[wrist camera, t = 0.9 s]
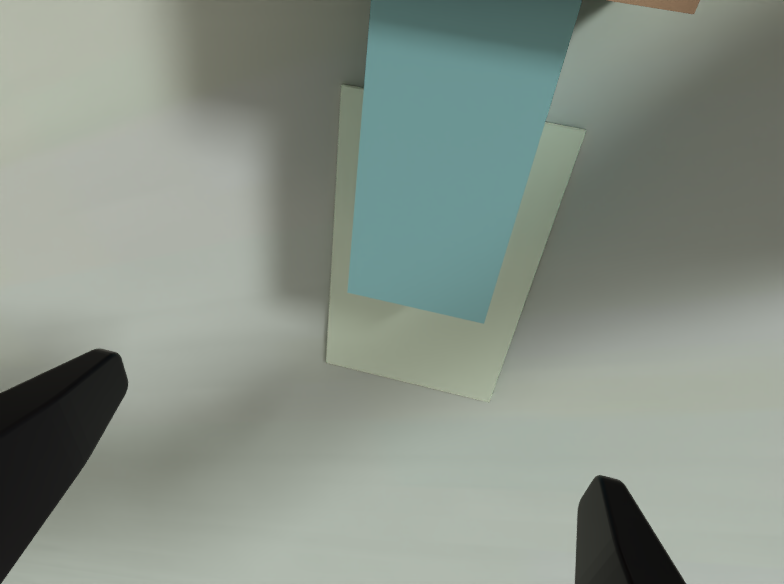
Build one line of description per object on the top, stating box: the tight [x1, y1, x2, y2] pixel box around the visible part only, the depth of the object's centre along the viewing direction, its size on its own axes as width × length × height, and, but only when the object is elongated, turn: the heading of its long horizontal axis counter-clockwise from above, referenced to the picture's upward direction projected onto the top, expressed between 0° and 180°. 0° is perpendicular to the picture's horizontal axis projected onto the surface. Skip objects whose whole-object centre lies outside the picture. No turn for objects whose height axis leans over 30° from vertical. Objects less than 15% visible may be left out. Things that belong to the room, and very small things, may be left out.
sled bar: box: [347, 0, 582, 324], centre depth 13 cm, size 4×14×4 cm, turn 173°
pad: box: [326, 84, 586, 402], centre depth 20 cm, size 8×13×1 cm, turn 173°
